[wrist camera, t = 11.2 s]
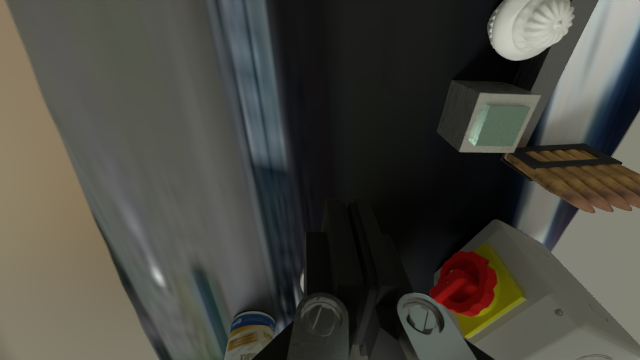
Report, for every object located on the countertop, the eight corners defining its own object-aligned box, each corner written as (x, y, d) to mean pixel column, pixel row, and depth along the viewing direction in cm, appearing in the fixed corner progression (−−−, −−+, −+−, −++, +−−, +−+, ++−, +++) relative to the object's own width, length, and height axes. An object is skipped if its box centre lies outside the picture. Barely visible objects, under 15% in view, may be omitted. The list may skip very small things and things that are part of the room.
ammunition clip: (585, 143, 35) (701, 198, 25) (578, 156, 36) (687, 214, 26) (504, 147, 34) (589, 205, 24) (499, 160, 35) (579, 220, 25)
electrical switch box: (462, 195, 41) (553, 316, 23) (535, 236, 43) (666, 372, 26) (403, 256, 47) (439, 386, 30) (469, 288, 50) (538, 425, 32)
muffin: (480, 67, 29) (526, 82, 23) (464, 10, 26) (513, 10, 20) (540, 31, 27) (606, 37, 21) (531, -33, 24) (604, -47, 18)
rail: (508, 137, 34) (545, 160, 28) (435, 135, 33) (460, 159, 28) (638, -153, 21) (749, -206, 16) (524, -165, 20) (600, -226, 15)
